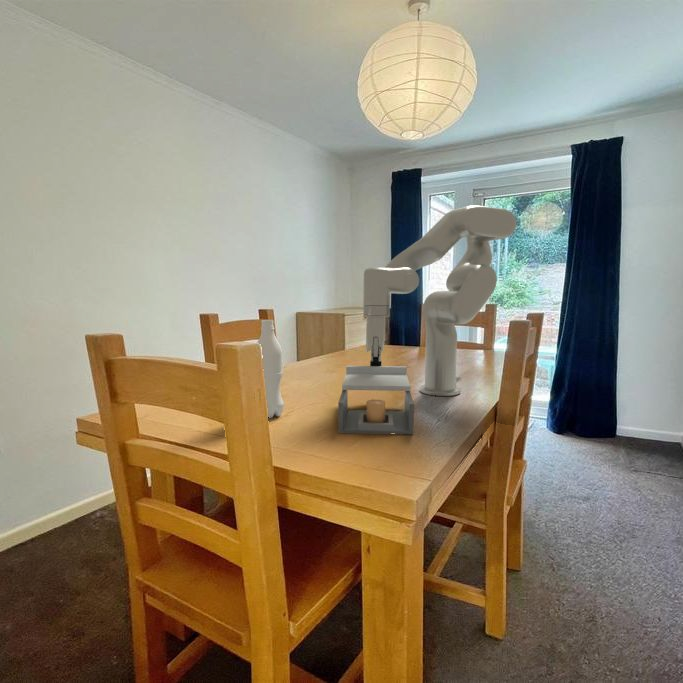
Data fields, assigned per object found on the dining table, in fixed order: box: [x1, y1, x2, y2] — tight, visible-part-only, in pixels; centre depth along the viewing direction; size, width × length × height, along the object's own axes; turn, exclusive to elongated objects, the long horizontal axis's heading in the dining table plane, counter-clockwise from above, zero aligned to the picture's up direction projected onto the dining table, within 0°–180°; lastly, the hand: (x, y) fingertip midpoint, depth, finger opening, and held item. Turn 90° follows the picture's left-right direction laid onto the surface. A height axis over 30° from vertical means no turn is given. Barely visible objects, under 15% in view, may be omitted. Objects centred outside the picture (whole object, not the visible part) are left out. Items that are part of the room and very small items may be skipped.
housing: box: [337, 389, 415, 435], centre depth 100 cm, size 15×17×7 cm
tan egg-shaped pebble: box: [366, 399, 386, 423], centre depth 97 cm, size 4×4×6 cm
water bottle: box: [256, 319, 285, 419], centre depth 105 cm, size 7×7×25 cm
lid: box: [341, 365, 411, 392], centre depth 110 cm, size 15×17×3 cm
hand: (375, 374), depth 119 cm, fingers closed
